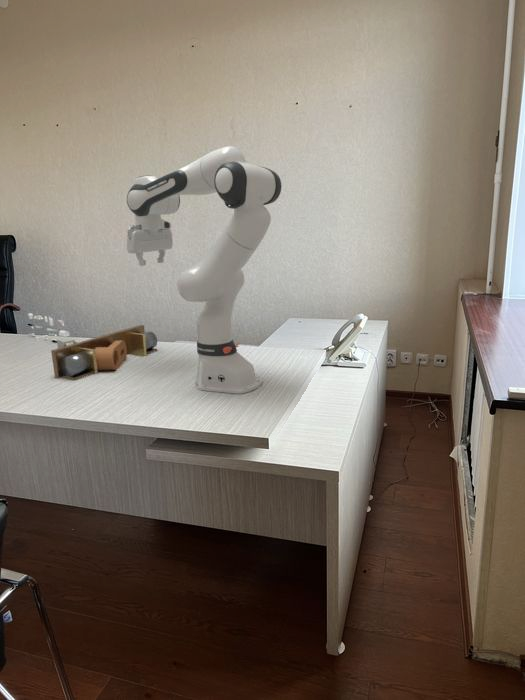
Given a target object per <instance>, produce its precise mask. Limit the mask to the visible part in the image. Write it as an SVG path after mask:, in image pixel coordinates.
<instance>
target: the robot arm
mask: <svg viewBox="0 0 525 700" xmlns="http://www.w3.org/2000/svg"><path fill="white" fill-rule="evenodd" d="M215 193H217V195H218V196H219V197H220V199H221V200H222V201H223V202H224V204H225V206H226V208H228V209H233V210H234V212H233V215H232V217H231V219H230V220H229V222H228V223H227V225H226V226H225V227H224V229H223V231H221V234H220V236H219V237H218V239H216V241H215V243H214V244H213V245H212V247H210V248H209V249H208V250H207V251H206V253H204V254H203V255H202V256H201V257H200V258H199V259H197V261H196V262H195V263H194V264H193V265H191V266H190V267H188V268H187V269H185V270H183V271H182V272H180V274H179V275H178V279H177V282H176V283H177V284H176V286H177V290H178V293H179V295H180V297H181V298H182V299H183V300H185V301H186V302H190V303H191V302H193V303H202V302H203V303H204V306H203V308H202V310H201V312H199V314H198V316H197V317H196V318H197V319H196V326H197V328H196V329H197V330H196V331H197V341H196V350H197V354H198V360H197V361H198V363H197V364H198V365H197V372H196V373H197V374H196V380H195V384H196V385H197V390H199V391H207V392H215V393H216V392H218V393H227V394H236V395H237V394H240V395H241V394H245V393H249V392H252V391H255V390H256V389H257V388H259V387H260V386H262V385H263V379H262V378H260V377H257V376H256V371H255V368H254V367H255V366H254V365H253V364H252V363H251V362H249V361H248V360H247V359H246V358H245V357H244V356H243V355H241V354H240V353H239V352H238V349H237V348H238V347H240V343H239V342H238V343H235V342H234V340H233V338H232V337H233V336H232V331H233V330H232V317H233V310H234V306H235V302H236V298H237V295H238V294H239V293H240V291H241V290H242V288H243V286H244V284H245V274H244V272H243V270H242V269H243V268H244V267H245V265H247V263H248V261H249V260H250V259H251V257H252V256H253V254H254V253H255V252H256V250H257V249H258V247H259V246H260V244H261V243H262V241H263V239H264V237H265V235H266V234H267V232H268V230H269V227H270V225H271V221H272V219H271V218H272V217H271V213H270V211H269V210H268V209H267V208H266V207H265V205H267V206H268V205H269V204H273V203H275V202H276V201H277V200H278V199H279V198H280V195H281V193H282V180H281V178H280V176H279V175H278V173H276V172H275V171H274V170H272V169H270V168H268V167H264V166H260V165H255V164H252V163H247V162H246V159H245V156H244V154H243V153H242V151H241V150H240V149H239V148H237V147H236V146H233V145H228V146H222V147H220V148H217V149H215V150H212V151H210V152H208V153H207V154H204V155H203V156H201V157H200V158H197V159H196V160H194V161H192V162H191V163H189V164H187V165H185V166H183V167H181V168H178V169H176V170H175V171H173V172H170V173H168V174H165V175H163V176H161V177H159V178H157V177H156V176H155V175H151V174H150V175H141V176H137V178H135V179H134V181H133V185H132V186H131V188H130V189H129V190H128V192H127V196H126V204H127V207H128V209H129V210H130V211H131V212H132V213H133V214H134V216H135V217H134V218H135V225H130V226H129V227H128V228H127V235H126V249H127V250H126V251H127V252H128V253H129V254H135V257H136V259H137V260H138V265H139V266H140V267H144V266H146V265H147V263H146V261H147V260H145V259H144V253H149V252H158V257H157V258H156V259H157V263H158V264H163V263H164V262H165V261H164V260H165V259H164V258H165V255H166V250H172V247H173V244H174V243H173V233H172V230H171V229H172V222H170V221H168V220H165V219H163V218H162V215H166V216H167V215H171V214H175V213H177V211H178V210H179V207H180V206H181V197H180V196H183V195H184V196H185V195H186V196H187V195H188V196H189V195H190V196H194V195H195V196H196V195H197V196H203V195H204V196H205V195H210V194H215Z"/></svg>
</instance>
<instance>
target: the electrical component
mask: <svg viewBox="0 0 525 700" xmlns="http://www.w3.org/2000/svg"><path fill="white" fill-rule="evenodd" d="M56 340H57V343H56V345H57V349H58V348H61V347H65V346H68V345H72V344H75V343H78V341H75V339H74V338H71V337H69V336H66V337H62V338H57V339H56Z"/></svg>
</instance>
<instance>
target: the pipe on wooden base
mask: <svg viewBox="0 0 525 700" xmlns="http://www.w3.org/2000/svg"><path fill="white" fill-rule="evenodd" d="M115 341H125V343H126V348H127V355H132V356H138V355H139V356H138V357H144V356H145V357H147V356H148V355H149V354H152V353H154V351H155V352H157V351H158V348H156V347H157V345H158V338H157V335H156V333H154V332H153V331H151V330H150V331H145V325H144V324H139V325H135V326H132V327H128V328H125V329H121V330H118V331H115V332H111V333H107V334H104V335H101V336H97V337H93V338H90V339H86V340H82V341H79V342H77V343H75V344H72V345H68V346H65V347H61V348H58V347H57V348H55V349H51V350H50V351H51V359H52V366H53V373H54V378H56V379H60V378H62V379H67V380H71V381H77V380H79V378H80V379H82V377H83V378H85V377H88V376H91V375H95V374H96V375H98V374H99V373H98V371H99V370H97V361H96V353H95V348H97V347H109V346H110V345H111V344H112V343H114V342H115ZM151 352H152V353H151ZM90 374H91V375H90ZM87 375H88V376H87ZM84 376H85V377H84Z"/></svg>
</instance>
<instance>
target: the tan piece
mask: <svg viewBox="0 0 525 700" xmlns="http://www.w3.org/2000/svg"><path fill="white" fill-rule="evenodd" d="M95 353H96V361H97V370H98V371H117V370H118V369H119V368H120V367H121V366H122V365H123V364H124V363H125V362H126V360H127V355H128V354H127V348H126V343H125V341H115V342H114V343H112V344H111V345H110V346H109V347H97V348H95ZM123 362H124V363H123Z"/></svg>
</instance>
